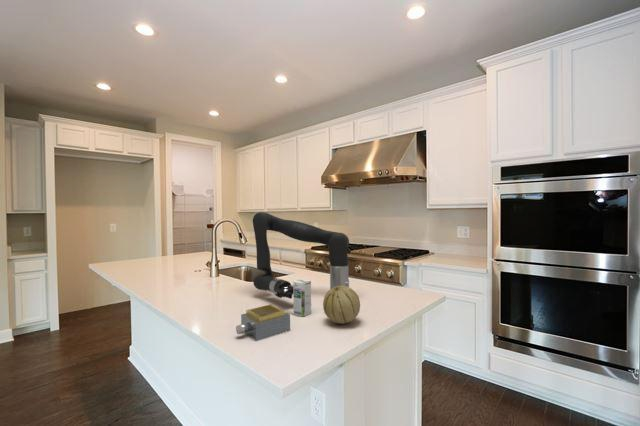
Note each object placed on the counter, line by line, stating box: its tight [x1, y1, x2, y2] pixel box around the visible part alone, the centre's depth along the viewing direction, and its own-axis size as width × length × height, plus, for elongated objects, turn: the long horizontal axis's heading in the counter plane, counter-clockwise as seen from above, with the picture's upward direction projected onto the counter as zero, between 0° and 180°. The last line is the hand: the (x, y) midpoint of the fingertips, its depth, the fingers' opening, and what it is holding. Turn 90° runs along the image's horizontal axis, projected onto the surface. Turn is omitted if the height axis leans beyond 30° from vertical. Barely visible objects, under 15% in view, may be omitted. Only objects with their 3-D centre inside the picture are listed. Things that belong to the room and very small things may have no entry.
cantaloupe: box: [322, 285, 361, 325], centre depth 122 cm, size 15×15×15 cm
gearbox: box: [235, 304, 291, 342], centre depth 113 cm, size 18×12×8 cm, turn 129°
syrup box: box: [292, 279, 312, 318], centre depth 132 cm, size 6×6×14 cm
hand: (299, 294), depth 133 cm, fingers open, 8 cm apart
